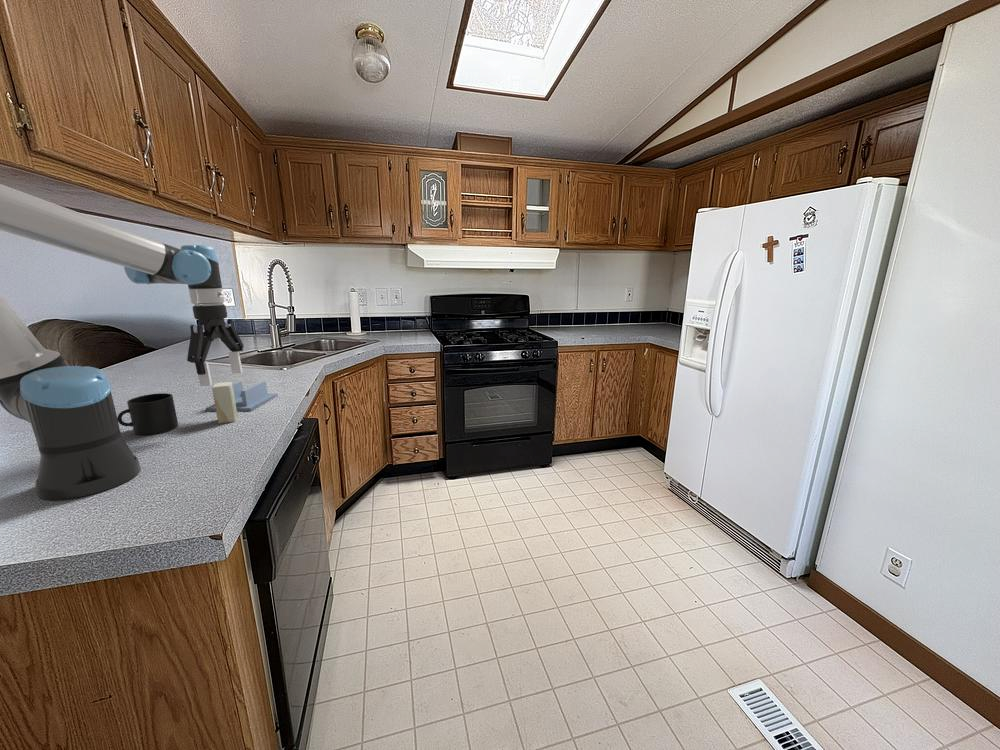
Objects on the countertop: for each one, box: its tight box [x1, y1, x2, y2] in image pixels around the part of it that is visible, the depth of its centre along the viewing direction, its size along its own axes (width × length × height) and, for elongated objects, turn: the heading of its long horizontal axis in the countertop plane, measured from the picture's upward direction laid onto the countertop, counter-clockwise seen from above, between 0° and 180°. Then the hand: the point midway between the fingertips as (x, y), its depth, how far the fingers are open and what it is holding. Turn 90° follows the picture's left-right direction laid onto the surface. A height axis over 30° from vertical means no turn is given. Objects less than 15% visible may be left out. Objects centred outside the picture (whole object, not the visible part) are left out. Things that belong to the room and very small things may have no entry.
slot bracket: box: [205, 380, 279, 412], centre depth 133 cm, size 16×14×6 cm
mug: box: [117, 392, 179, 436], centre depth 109 cm, size 9×12×9 cm
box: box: [211, 381, 238, 424], centre depth 117 cm, size 5×4×11 cm
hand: (222, 378), depth 116 cm, fingers open, 13 cm apart
